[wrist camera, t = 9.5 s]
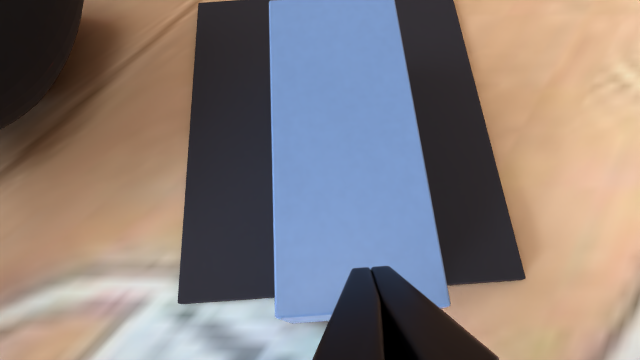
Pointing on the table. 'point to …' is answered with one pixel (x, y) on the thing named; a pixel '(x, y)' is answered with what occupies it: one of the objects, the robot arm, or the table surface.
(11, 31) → the wine glass
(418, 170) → the blue block
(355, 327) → the robot arm
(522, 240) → the table surface
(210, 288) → the rubber mat
